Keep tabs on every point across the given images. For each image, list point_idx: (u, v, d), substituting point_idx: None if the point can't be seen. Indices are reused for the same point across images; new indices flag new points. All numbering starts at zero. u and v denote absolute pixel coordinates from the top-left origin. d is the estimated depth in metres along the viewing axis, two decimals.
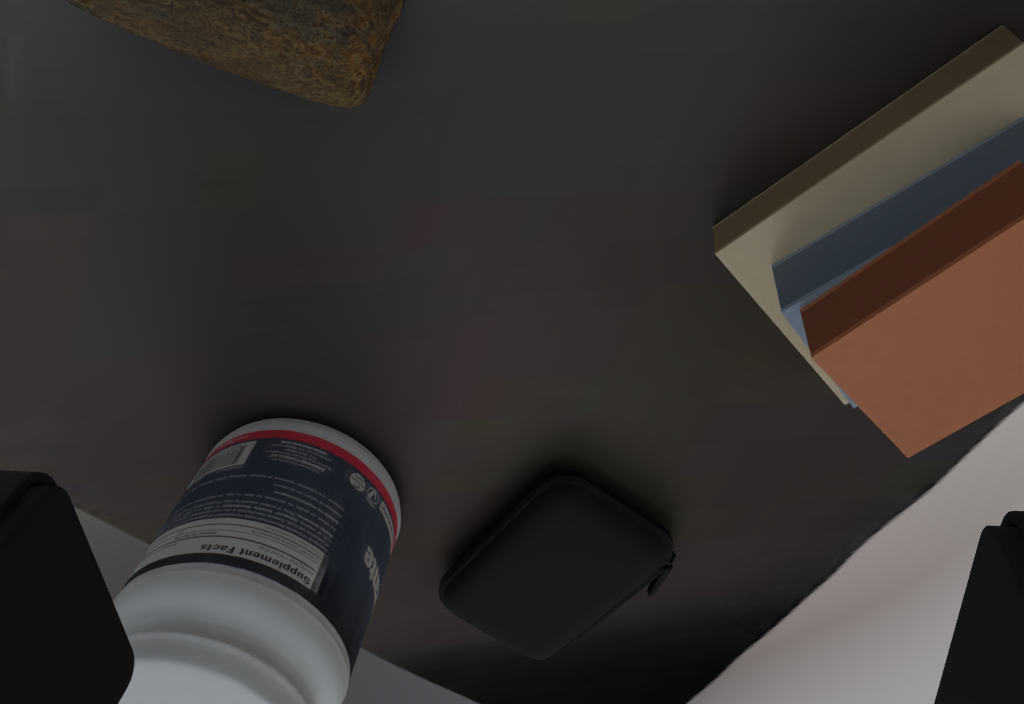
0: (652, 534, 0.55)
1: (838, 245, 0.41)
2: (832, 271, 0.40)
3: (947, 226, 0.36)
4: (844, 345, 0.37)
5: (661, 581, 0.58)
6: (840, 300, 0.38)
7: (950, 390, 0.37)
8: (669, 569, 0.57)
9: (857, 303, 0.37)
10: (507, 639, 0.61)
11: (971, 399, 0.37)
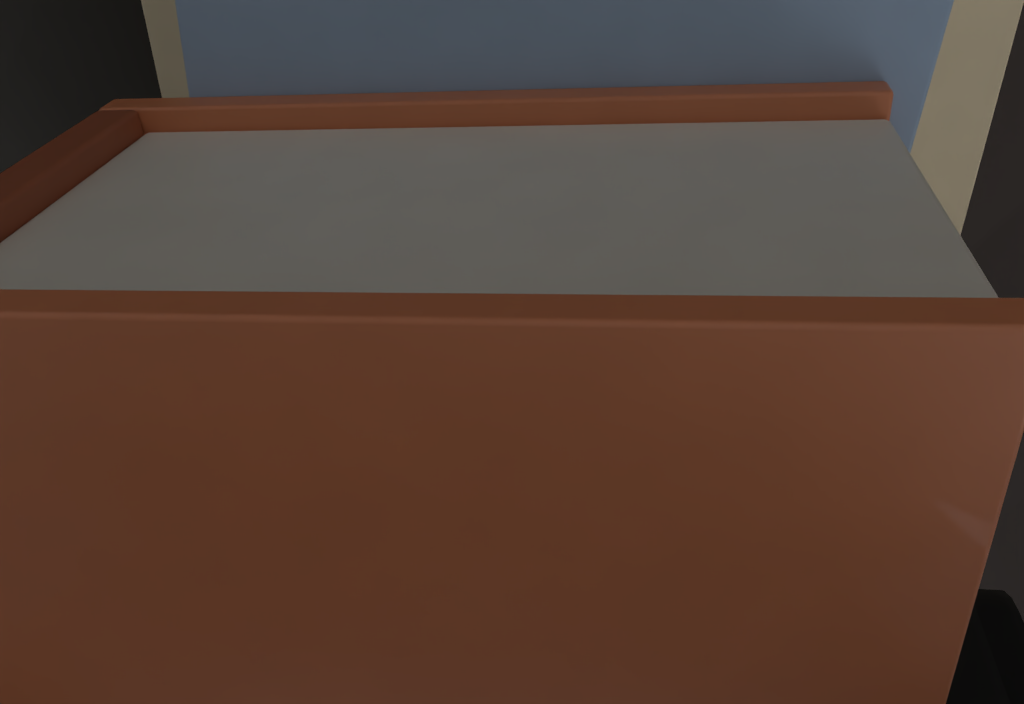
0: None
1: None
2: None
3: None
4: None
5: None
6: None
7: None
8: None
9: None
10: None
11: None
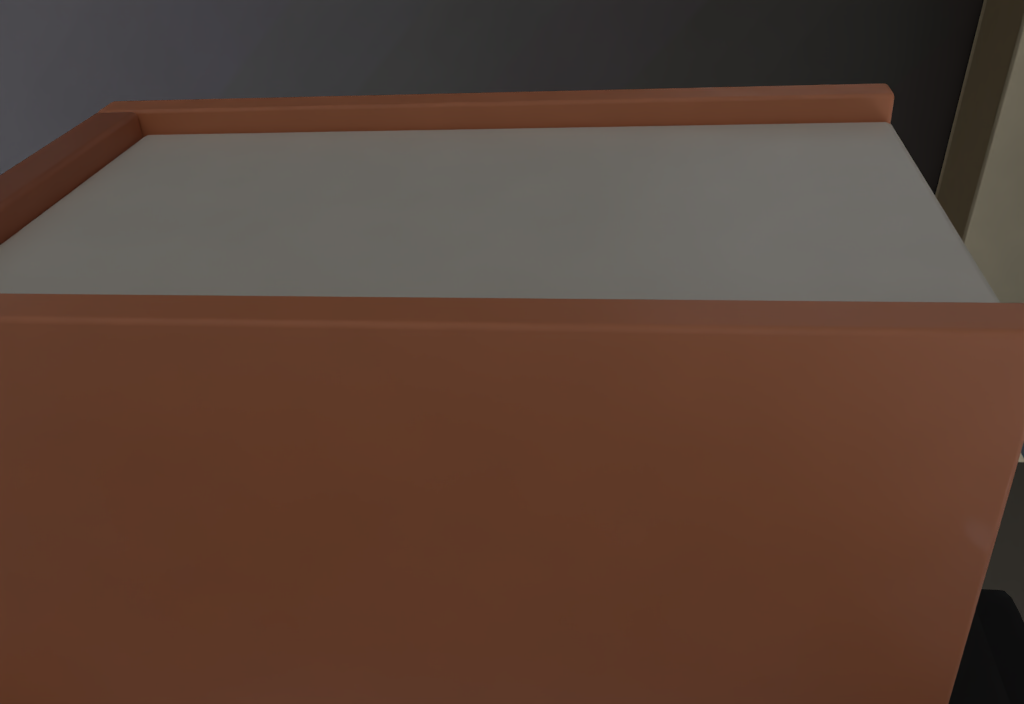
0: None
1: None
2: None
3: None
4: None
5: None
6: None
7: None
8: None
9: None
10: None
11: None
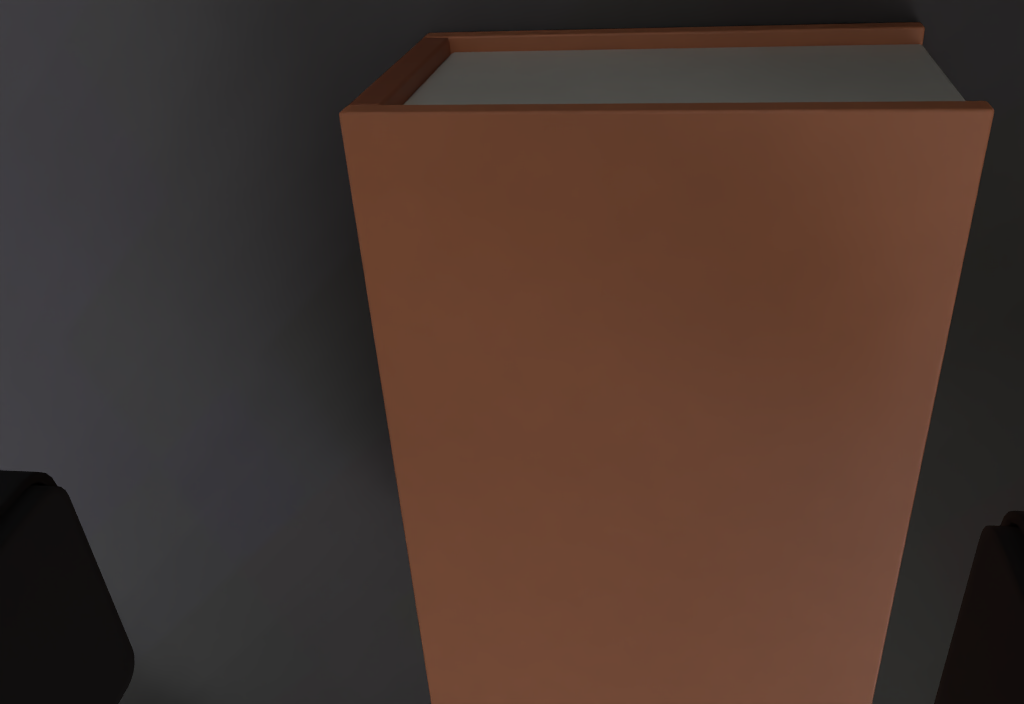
0: None
1: None
2: None
3: None
4: (447, 666, 0.15)
5: None
6: None
7: (744, 608, 0.13)
8: None
9: None
10: None
11: (814, 595, 0.12)
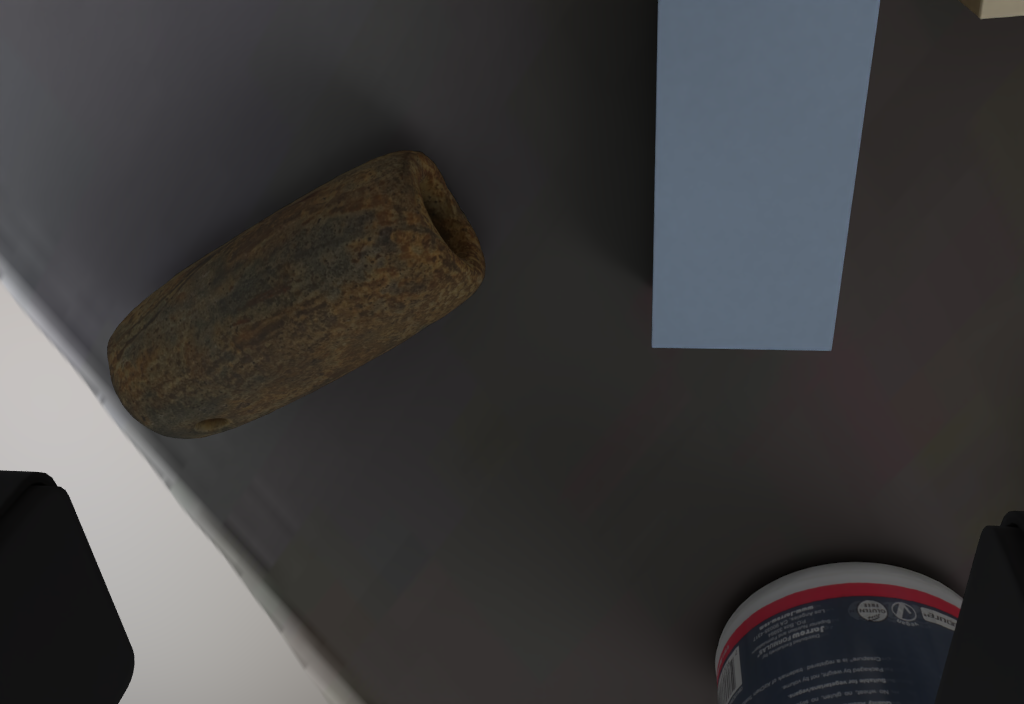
0: None
1: None
2: None
3: None
4: None
5: None
6: None
7: None
8: None
9: None
10: None
11: None
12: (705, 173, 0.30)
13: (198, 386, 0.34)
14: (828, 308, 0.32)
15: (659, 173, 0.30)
